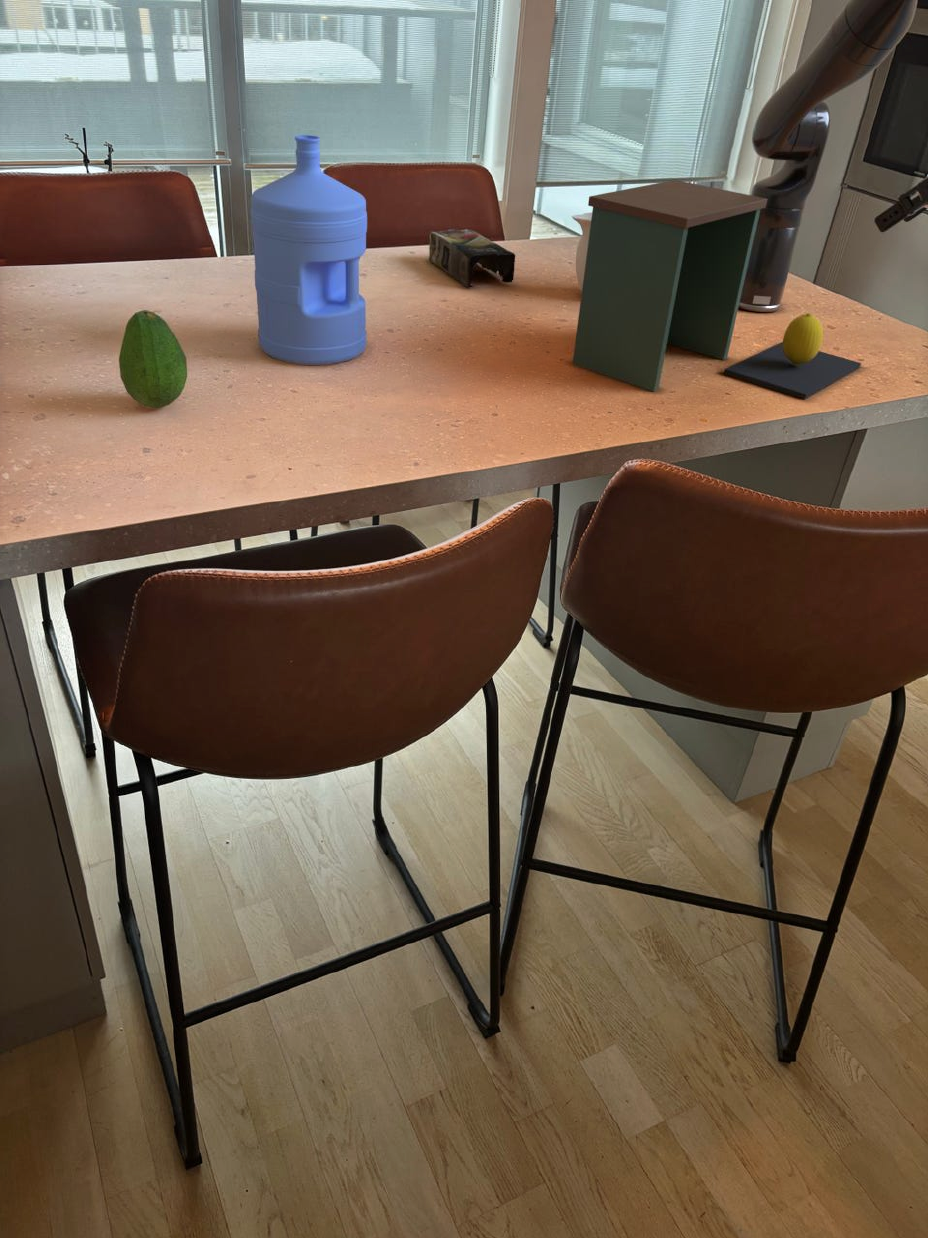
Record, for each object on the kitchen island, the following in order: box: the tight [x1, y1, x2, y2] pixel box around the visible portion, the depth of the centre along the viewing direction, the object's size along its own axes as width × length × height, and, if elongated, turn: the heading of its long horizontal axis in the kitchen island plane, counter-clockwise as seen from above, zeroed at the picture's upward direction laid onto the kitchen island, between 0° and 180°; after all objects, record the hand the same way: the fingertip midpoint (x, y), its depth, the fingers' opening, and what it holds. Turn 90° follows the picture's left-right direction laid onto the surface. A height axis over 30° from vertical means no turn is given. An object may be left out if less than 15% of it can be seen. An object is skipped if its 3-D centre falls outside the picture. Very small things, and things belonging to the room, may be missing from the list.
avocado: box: [118, 309, 188, 409], centre depth 116 cm, size 8×8×12 cm
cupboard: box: [572, 179, 767, 393], centre depth 138 cm, size 22×15×23 cm
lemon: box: [782, 312, 824, 366], centre depth 142 cm, size 6×6×8 cm
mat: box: [723, 341, 862, 400], centre depth 144 cm, size 20×13×1 cm, turn 139°
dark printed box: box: [428, 228, 516, 288], centre depth 177 cm, size 20×10×6 cm, turn 24°
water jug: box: [250, 134, 368, 366], centre depth 132 cm, size 16×16×28 cm
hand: (890, 220), depth 127 cm, fingers open, 8 cm apart
